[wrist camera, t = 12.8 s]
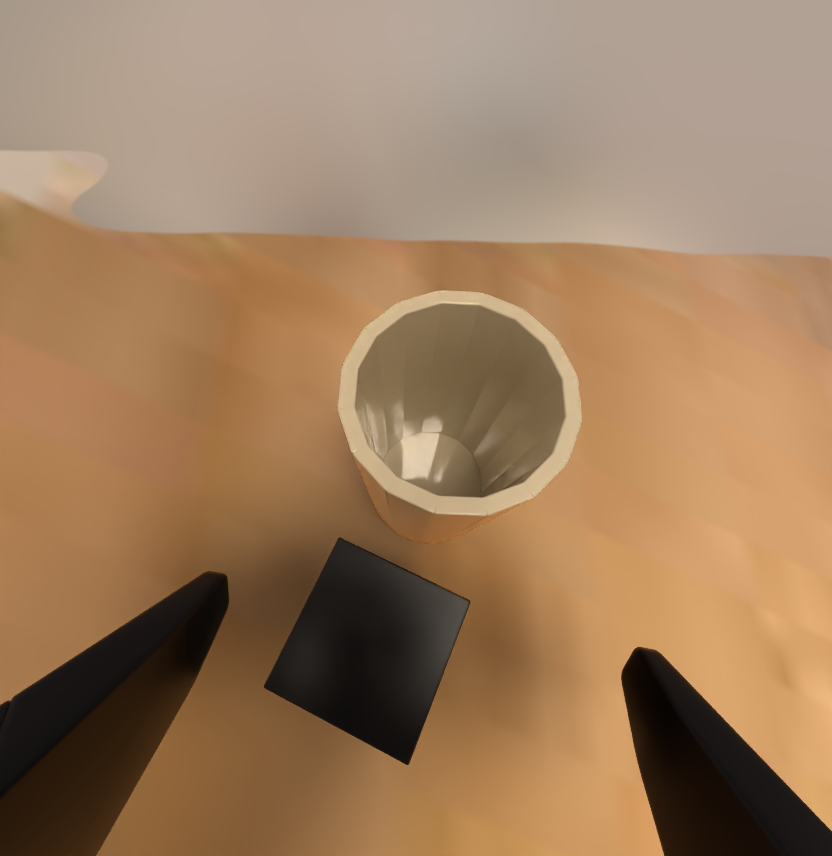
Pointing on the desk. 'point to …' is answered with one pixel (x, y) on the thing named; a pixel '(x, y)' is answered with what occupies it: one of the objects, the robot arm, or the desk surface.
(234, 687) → the desk surface
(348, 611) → the leg piece
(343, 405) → the pen pot
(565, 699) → the desk surface
